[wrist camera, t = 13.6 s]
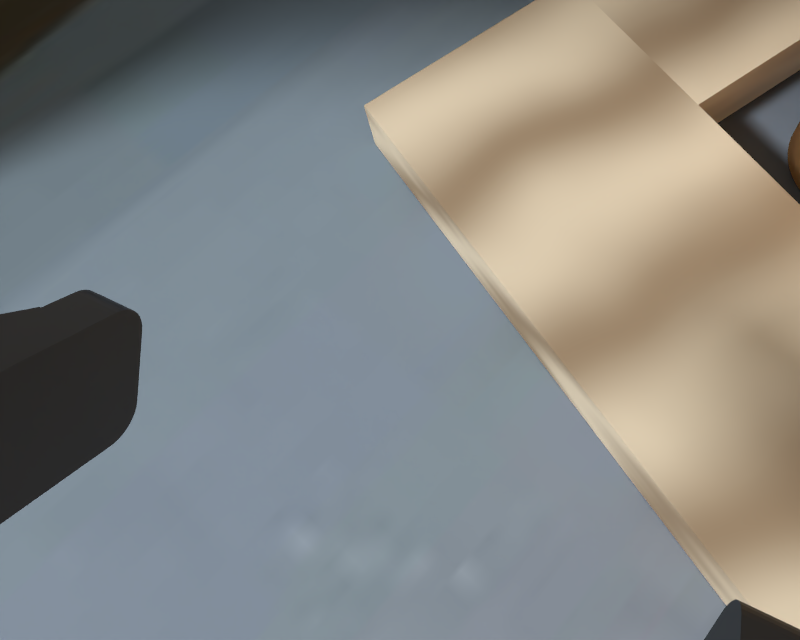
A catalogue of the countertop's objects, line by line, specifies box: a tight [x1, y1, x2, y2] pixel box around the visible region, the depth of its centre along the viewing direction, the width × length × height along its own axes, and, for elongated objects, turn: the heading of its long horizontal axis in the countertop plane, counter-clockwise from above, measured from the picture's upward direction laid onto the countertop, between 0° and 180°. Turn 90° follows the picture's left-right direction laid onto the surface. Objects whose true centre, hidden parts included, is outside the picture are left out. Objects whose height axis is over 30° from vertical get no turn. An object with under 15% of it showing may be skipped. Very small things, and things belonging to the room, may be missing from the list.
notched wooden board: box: [364, 0, 800, 629], centre depth 25 cm, size 22×18×3 cm
